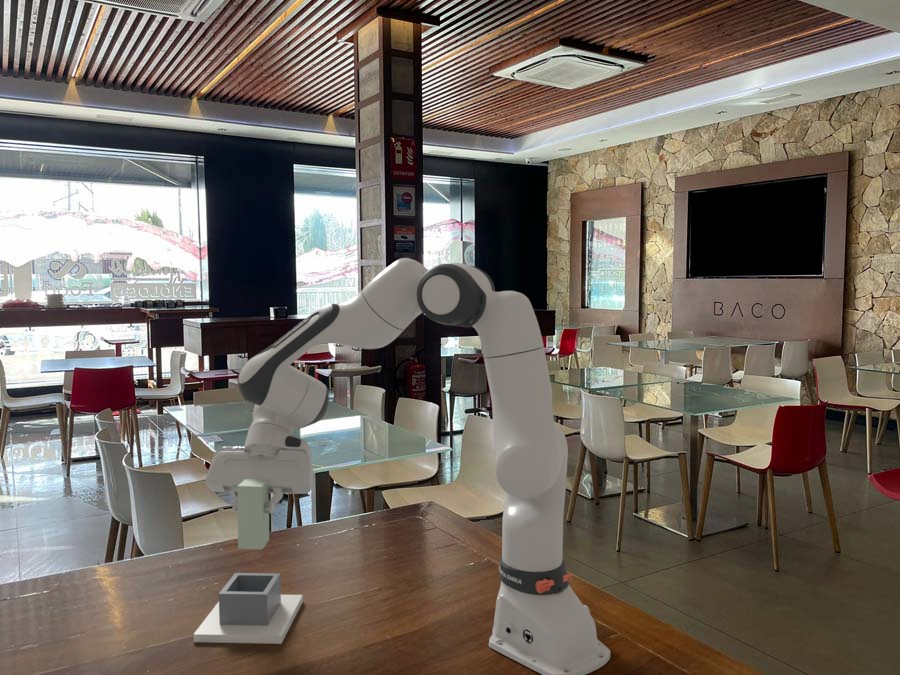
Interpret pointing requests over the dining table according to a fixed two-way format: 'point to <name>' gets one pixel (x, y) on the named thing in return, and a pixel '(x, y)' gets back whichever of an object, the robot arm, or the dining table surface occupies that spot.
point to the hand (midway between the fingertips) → (252, 511)
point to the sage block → (253, 514)
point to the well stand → (250, 611)
